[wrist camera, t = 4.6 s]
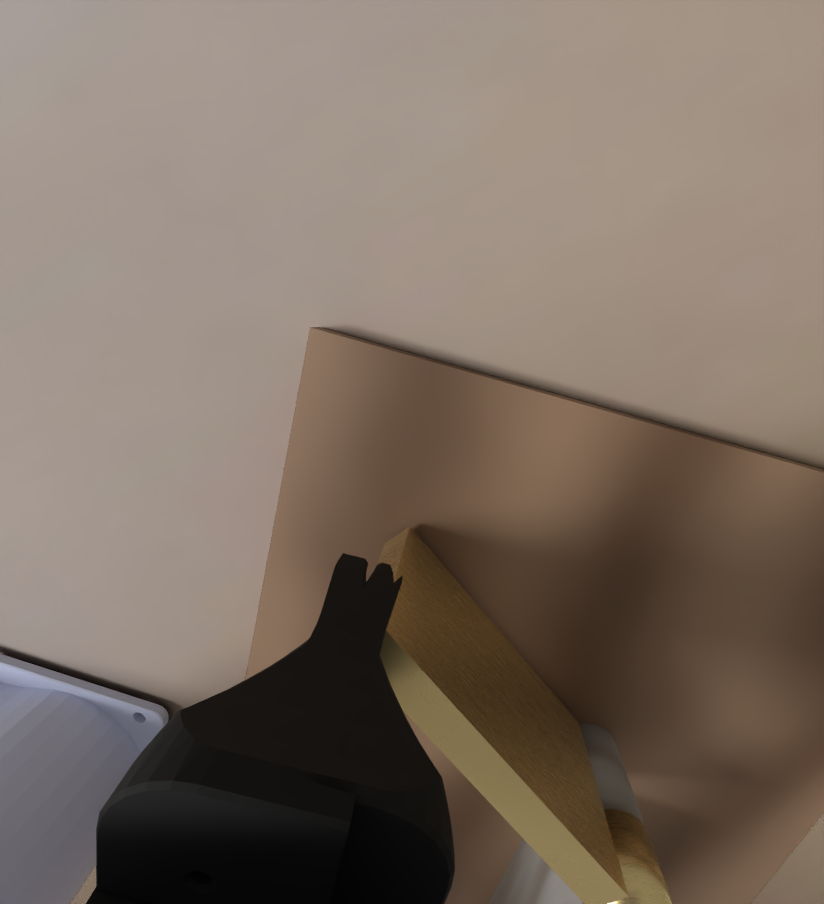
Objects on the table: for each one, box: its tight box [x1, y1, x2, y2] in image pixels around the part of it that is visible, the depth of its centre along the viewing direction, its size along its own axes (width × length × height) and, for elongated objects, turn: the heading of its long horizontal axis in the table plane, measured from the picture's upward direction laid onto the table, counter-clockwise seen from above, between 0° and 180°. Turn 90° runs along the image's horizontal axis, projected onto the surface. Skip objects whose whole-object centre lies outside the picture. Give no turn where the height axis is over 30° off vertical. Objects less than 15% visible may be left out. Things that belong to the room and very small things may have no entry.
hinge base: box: [245, 327, 824, 904], centre depth 13 cm, size 20×22×6 cm
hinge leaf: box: [377, 526, 673, 904], centre depth 12 cm, size 2×11×4 cm, turn 40°
